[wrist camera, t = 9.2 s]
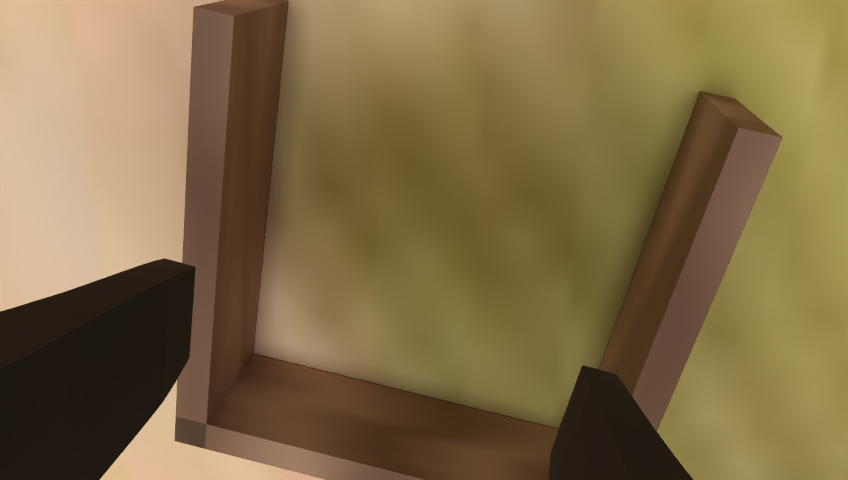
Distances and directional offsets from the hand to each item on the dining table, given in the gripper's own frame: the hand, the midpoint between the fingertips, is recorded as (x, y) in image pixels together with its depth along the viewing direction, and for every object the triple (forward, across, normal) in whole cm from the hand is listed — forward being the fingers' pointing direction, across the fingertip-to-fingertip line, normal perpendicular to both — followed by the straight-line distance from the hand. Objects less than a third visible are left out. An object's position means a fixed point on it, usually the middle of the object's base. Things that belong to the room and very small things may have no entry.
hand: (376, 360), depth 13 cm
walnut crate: (+10, 0, +3) cm, 10 cm away
